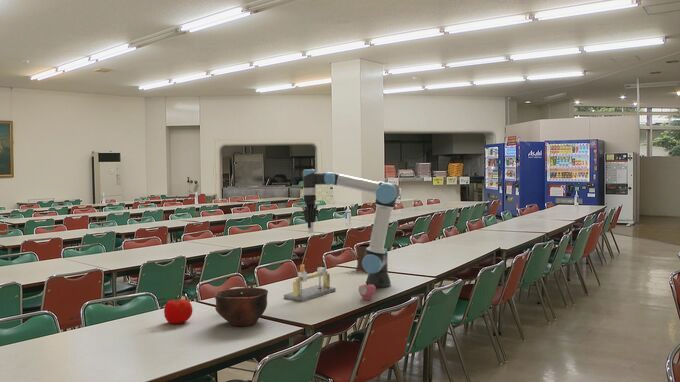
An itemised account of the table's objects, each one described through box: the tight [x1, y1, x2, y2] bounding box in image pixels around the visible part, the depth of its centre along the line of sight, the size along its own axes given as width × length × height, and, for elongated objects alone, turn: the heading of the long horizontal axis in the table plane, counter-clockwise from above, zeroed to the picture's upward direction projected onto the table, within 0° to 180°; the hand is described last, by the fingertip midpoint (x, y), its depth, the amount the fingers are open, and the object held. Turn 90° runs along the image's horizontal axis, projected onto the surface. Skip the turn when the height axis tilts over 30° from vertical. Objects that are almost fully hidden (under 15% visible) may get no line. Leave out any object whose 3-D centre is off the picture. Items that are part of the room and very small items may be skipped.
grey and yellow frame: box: [283, 266, 337, 302], centre depth 316 cm, size 14×30×14 cm, turn 144°
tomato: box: [163, 297, 194, 325], centre depth 263 cm, size 12×13×12 cm
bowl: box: [213, 287, 269, 327], centre depth 260 cm, size 25×25×15 cm
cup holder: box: [346, 234, 370, 273], centre depth 392 cm, size 18×24×25 cm
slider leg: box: [297, 264, 308, 293], centre depth 308 cm, size 4×3×16 cm
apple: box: [358, 280, 377, 301], centre depth 301 cm, size 10×9×10 cm
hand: (310, 233), depth 335 cm, fingers closed
